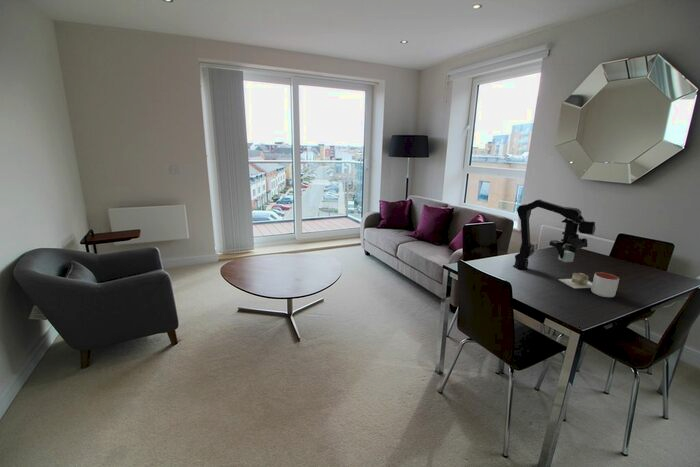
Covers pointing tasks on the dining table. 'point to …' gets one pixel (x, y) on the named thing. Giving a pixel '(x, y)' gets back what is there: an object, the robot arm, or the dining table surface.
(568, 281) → the white flat rectangular panel
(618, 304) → the dining table surface
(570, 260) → the sage block
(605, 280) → the cup
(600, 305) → the dining table surface
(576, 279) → the maple block
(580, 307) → the dining table surface
